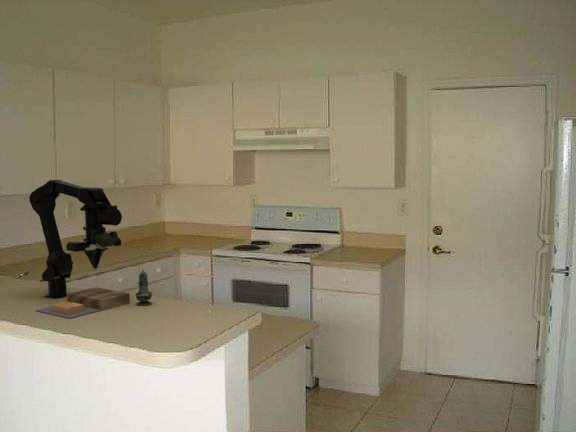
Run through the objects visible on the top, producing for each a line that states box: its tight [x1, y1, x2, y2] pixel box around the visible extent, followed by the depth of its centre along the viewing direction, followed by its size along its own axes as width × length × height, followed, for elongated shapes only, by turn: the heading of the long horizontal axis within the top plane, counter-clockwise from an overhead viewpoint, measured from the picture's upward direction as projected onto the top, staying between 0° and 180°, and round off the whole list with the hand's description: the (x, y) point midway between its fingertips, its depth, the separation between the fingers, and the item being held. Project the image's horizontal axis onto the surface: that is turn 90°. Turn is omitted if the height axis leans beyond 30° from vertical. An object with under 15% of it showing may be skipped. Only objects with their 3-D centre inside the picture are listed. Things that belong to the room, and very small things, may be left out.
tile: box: [49, 300, 84, 315], centre depth 190 cm, size 9×6×2 cm, turn 57°
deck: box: [66, 286, 131, 312], centre depth 201 cm, size 18×12×4 cm, turn 56°
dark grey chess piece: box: [134, 269, 153, 307], centre depth 199 cm, size 6×6×12 cm
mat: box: [35, 306, 102, 320], centre depth 191 cm, size 18×12×1 cm, turn 56°
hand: (95, 268), depth 202 cm, fingers closed
